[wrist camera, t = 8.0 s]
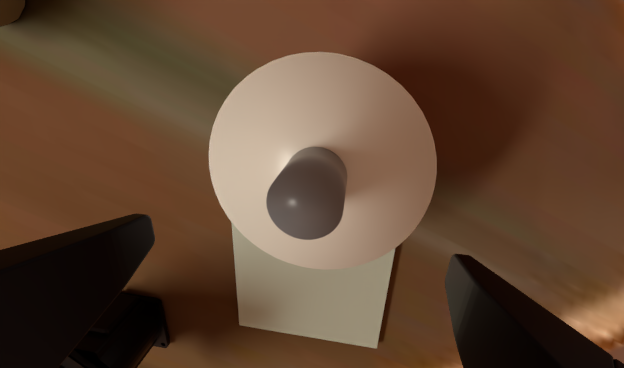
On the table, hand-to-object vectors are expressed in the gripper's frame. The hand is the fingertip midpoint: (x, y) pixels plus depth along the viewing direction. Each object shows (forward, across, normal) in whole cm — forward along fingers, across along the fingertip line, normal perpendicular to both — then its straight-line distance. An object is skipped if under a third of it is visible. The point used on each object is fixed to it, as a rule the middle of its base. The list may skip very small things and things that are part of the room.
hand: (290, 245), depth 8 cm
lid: (+7, 0, 0) cm, 7 cm away
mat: (+13, +1, +12) cm, 18 cm away
